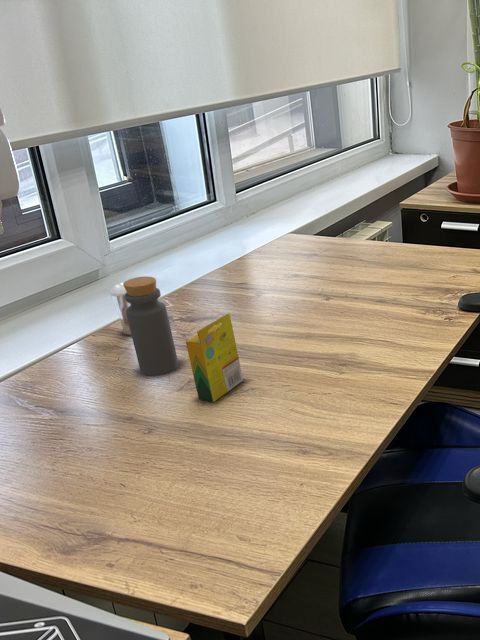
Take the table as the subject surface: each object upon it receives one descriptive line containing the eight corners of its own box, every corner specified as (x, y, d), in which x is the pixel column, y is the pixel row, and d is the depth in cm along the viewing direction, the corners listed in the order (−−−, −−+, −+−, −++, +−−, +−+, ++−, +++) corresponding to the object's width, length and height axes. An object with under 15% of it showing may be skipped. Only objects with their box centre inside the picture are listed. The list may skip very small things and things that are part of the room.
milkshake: (133, 339, 126) (120, 286, 121) (115, 333, 128) (101, 281, 124) (155, 330, 129) (143, 278, 125) (137, 324, 132) (125, 273, 127)
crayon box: (228, 378, 112) (216, 309, 107) (244, 380, 111) (232, 312, 106) (197, 400, 105) (181, 328, 100) (213, 403, 104) (198, 331, 99)
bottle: (184, 367, 115) (166, 280, 109) (149, 379, 112) (127, 290, 105) (169, 356, 119) (150, 272, 113) (134, 368, 115) (113, 281, 109)
